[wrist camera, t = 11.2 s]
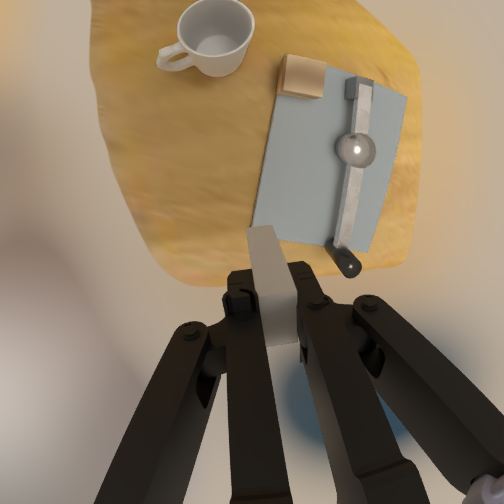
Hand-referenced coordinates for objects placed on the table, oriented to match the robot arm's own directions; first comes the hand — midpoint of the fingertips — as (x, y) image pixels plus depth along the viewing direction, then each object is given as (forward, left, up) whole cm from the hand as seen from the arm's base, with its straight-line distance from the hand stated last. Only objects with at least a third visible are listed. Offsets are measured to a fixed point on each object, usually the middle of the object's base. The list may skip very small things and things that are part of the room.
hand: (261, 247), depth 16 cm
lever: (-4, +13, -20) cm, 24 cm away
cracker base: (-5, +12, -22) cm, 25 cm away
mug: (-15, -7, -22) cm, 28 cm away
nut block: (-14, +4, -21) cm, 25 cm away
